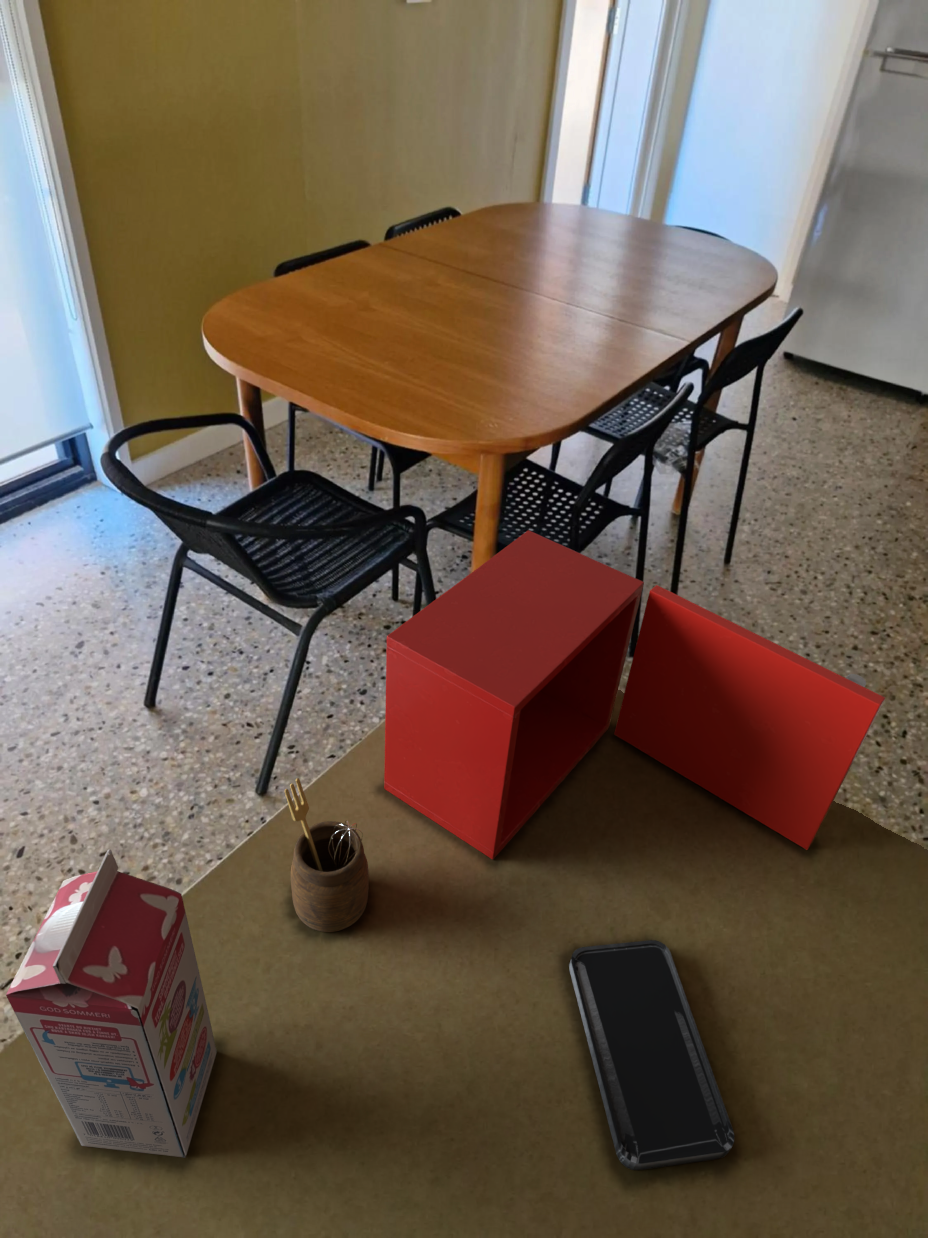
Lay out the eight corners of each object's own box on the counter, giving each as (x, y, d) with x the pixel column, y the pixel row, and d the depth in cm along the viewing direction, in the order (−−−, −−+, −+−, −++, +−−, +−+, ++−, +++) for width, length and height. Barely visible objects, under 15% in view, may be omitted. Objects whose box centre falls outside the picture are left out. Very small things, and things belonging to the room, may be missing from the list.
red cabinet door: (652, 696, 91) (691, 554, 80) (839, 801, 82) (913, 657, 71) (613, 734, 87) (649, 590, 76) (806, 850, 77) (880, 705, 66)
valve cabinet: (609, 728, 87) (644, 581, 76) (492, 860, 74) (514, 707, 63) (508, 674, 93) (528, 529, 81) (383, 789, 80) (386, 636, 68)
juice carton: (81, 1145, 56) (-13, 958, 42) (121, 1040, 61) (49, 843, 47) (185, 1157, 56) (125, 973, 42) (217, 1051, 61) (172, 856, 47)
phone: (624, 1166, 56) (568, 948, 67) (620, 1173, 57) (565, 956, 68) (741, 1149, 57) (667, 938, 68) (737, 1156, 58) (663, 946, 69)
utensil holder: (338, 949, 67) (334, 853, 60) (274, 908, 70) (262, 810, 62) (383, 893, 71) (385, 796, 64) (322, 856, 74) (316, 758, 66)
